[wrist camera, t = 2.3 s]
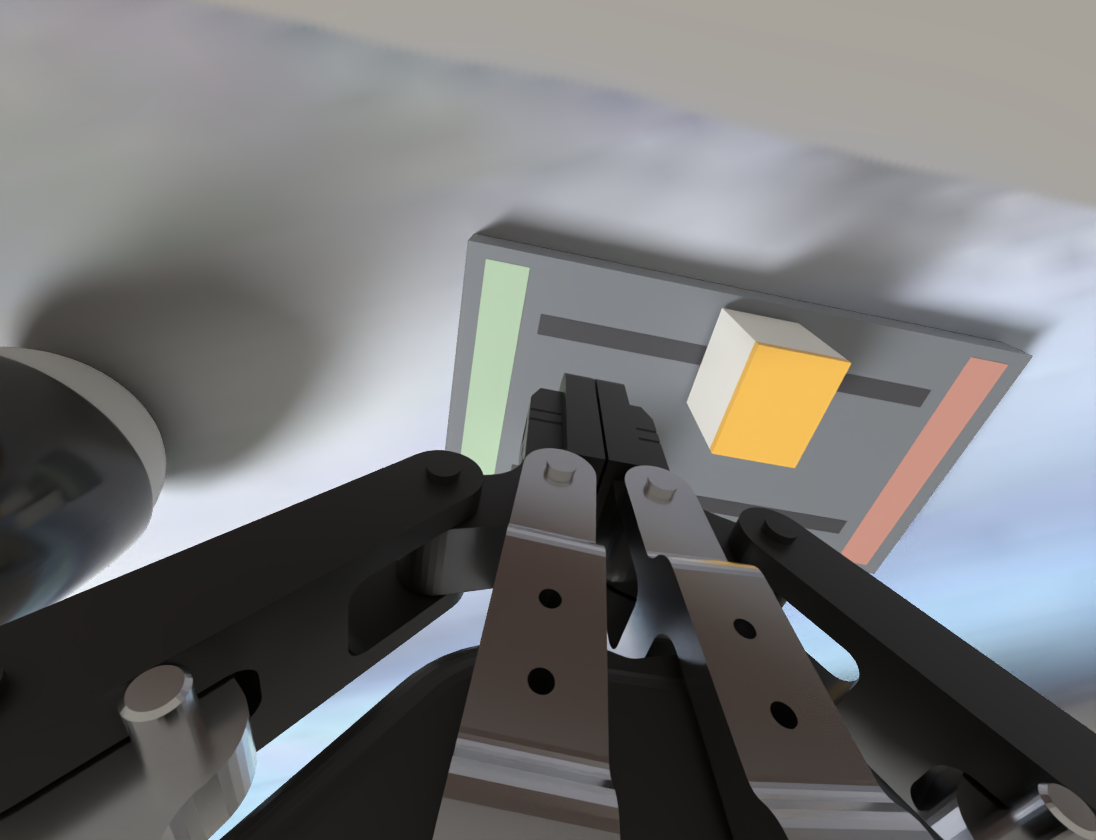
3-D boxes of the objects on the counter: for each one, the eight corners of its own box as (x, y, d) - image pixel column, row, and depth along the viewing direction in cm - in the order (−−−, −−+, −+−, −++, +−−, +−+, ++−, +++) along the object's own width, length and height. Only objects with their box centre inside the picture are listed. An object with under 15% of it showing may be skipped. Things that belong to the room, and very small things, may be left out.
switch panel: (1002, 342, 20) (1033, 356, 19) (858, 552, 26) (874, 574, 25) (474, 233, 19) (468, 240, 17) (445, 484, 24) (439, 503, 23)
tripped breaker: (798, 323, 18) (851, 363, 15) (756, 415, 20) (794, 468, 17) (722, 307, 18) (758, 344, 15) (686, 402, 20) (711, 453, 17)
